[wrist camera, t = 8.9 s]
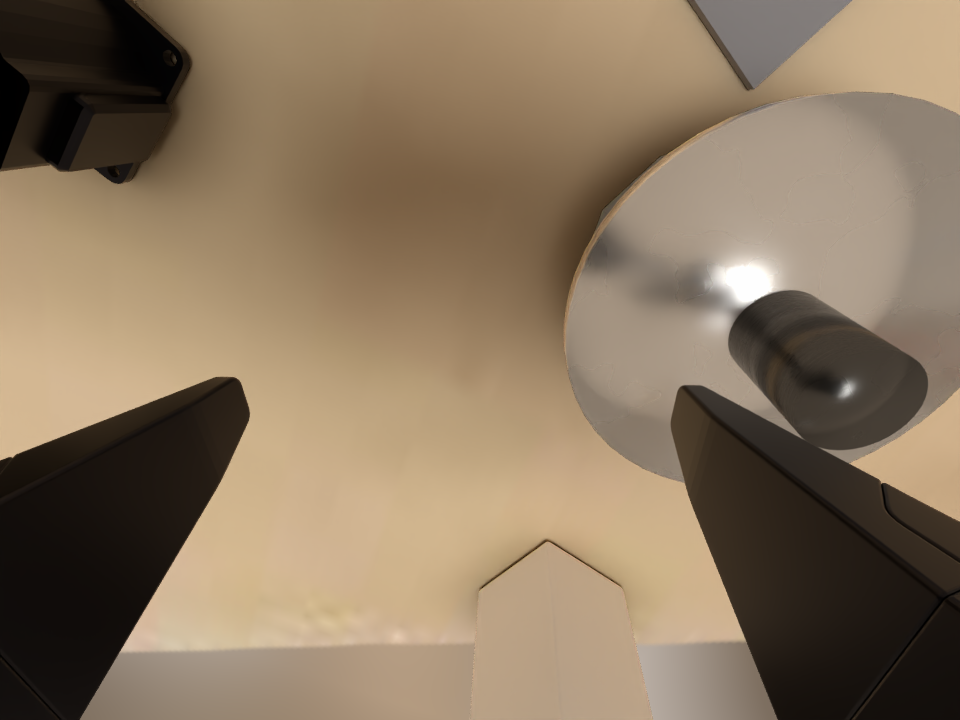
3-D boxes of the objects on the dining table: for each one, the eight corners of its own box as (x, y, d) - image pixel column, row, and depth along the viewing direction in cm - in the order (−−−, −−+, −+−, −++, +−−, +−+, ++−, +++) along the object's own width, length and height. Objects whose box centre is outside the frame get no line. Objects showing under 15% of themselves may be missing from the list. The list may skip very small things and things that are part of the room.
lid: (483, 322, 16) (473, 397, 12) (878, -45, 11) (1110, -141, 7) (703, 521, 20) (754, 630, 16) (1068, 325, 15) (1287, 410, 11)
